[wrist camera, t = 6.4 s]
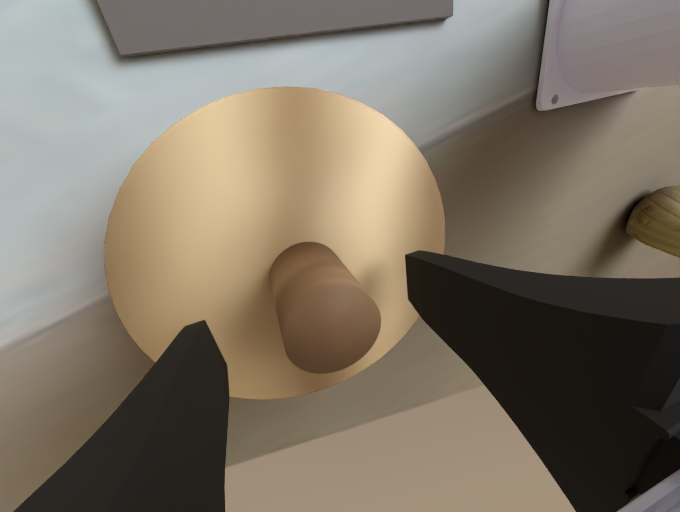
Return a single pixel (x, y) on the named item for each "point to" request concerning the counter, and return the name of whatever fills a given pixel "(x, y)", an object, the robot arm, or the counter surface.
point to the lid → (275, 237)
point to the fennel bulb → (658, 220)
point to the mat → (250, 20)
